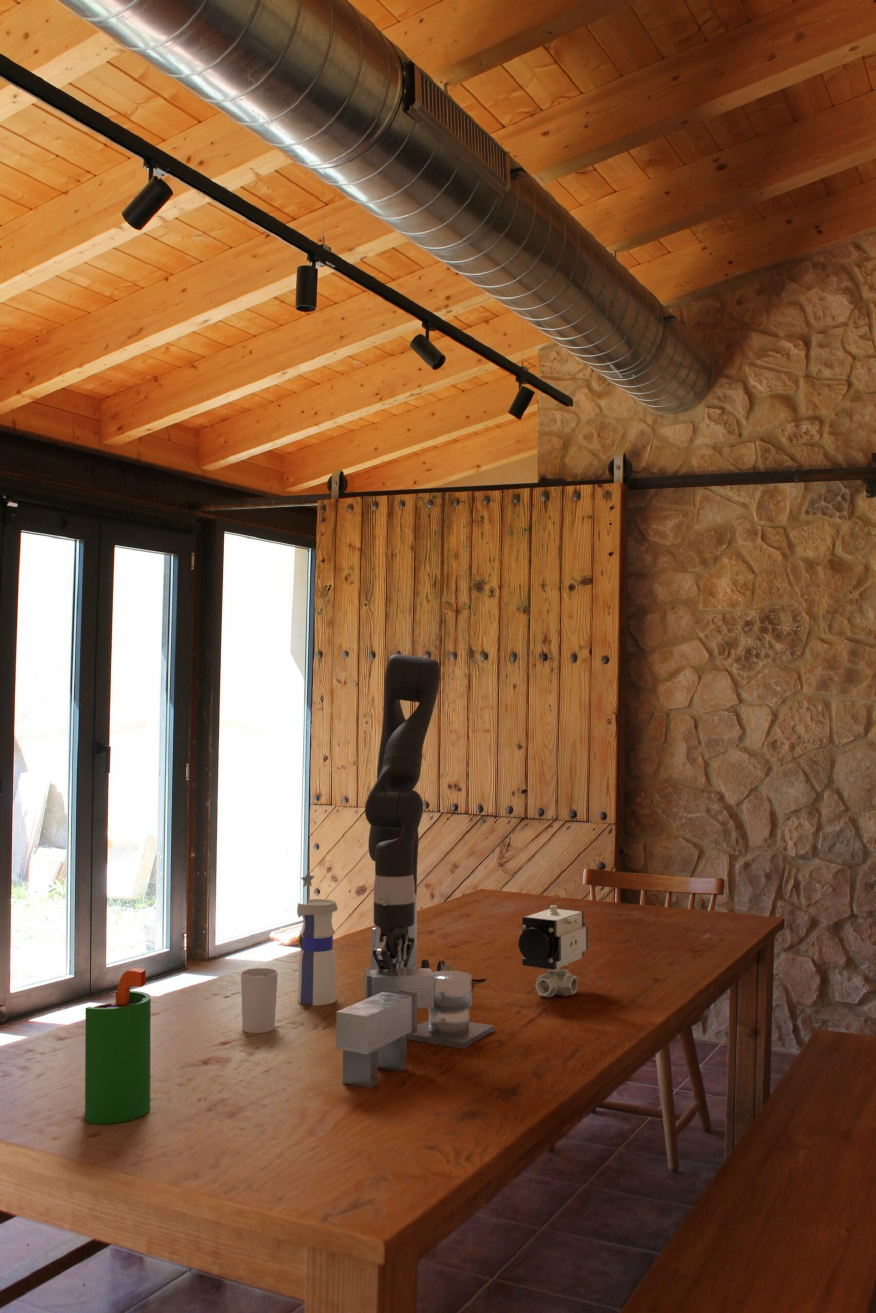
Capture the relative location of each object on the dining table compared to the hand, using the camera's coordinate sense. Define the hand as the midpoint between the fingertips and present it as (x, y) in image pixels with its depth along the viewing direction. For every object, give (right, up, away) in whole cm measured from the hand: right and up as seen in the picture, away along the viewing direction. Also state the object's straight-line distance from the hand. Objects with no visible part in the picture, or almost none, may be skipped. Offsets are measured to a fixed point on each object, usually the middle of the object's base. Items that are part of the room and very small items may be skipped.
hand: (394, 994), depth 199 cm
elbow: (+5, 0, -6) cm, 8 cm away
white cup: (-24, -6, -2) cm, 25 cm away
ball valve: (+32, -7, +23) cm, 40 cm away
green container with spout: (-38, -3, -44) cm, 58 cm away
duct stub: (+10, -5, -6) cm, 13 cm away
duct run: (-2, -4, -28) cm, 28 cm away
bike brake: (+9, -8, +28) cm, 31 cm away
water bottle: (-16, -7, +17) cm, 25 cm away
